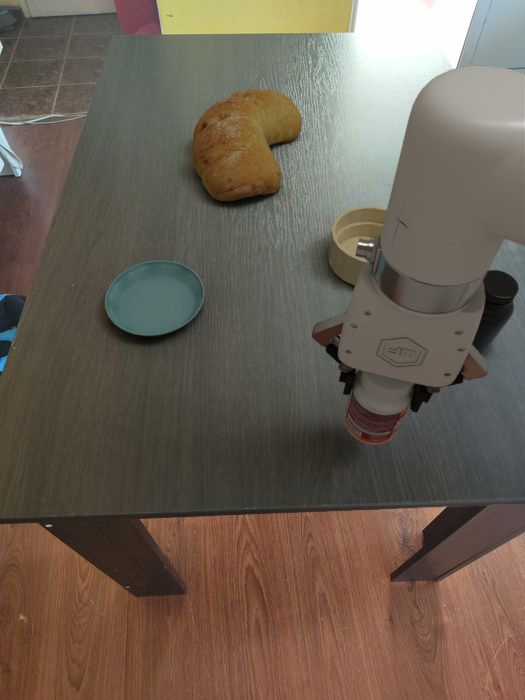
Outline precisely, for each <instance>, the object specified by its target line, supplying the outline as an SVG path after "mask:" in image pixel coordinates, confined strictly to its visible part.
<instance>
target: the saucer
mask: <svg viewBox="0 0 525 700" xmlns="http://www.w3.org/2000/svg"><path fill="white" fill-rule="evenodd" d="M205 289H206V288H205V286H204V283H203V279H202V278H201V277H200V275H199V274H198V273H197V272H196V271H195V270H193V268H191V267H189V266H188V265H186V264H184V263H181V262H178V261H175V260H165V259H158V260H157V259H155V260H149V261H144V262H141V263H138V264H135V265H133V266H130V267H129V268H127V269H125V270H124V271H122V272H121V273H119V275H117V276H116V277H115V278H114V279H113V281H112V282H111V283H110V285H109V287H108V288H107V290H106V293H105V297H104V307H105V311H106V312H105V313H106V315H107V317H108V318H109V319H110V321H111V322H112V323H113V325H115V326H116V327H118V328H119V329H121V330H122V331H124V332H127V333H130V334H132V335H136V336H142V337H158V336H164V335H168V334H171V333H174V332H175V331H178V330H180V329H182V328H183V327H184V326H186V325H187V324H189V323H190V322H191V321H192V320H193V319H195V317H196V315H198V313H199V312H200V310H201V309H202V308H203V307H202V306H203V304H204V301H205V296H206V290H205Z"/></svg>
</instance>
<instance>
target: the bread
mask: <svg viewBox="0 0 525 700" xmlns="http://www.w3.org/2000/svg"><path fill="white" fill-rule="evenodd" d="M302 127H303V123H302V116H301V113H300V109H298V106H297V105H296V103H294V101H293V100H292V99H291V98H290V97H288V96H287V95H286V94H284V93H282V92H279V91H276V90H273V89H259V88H244V89H241V90H238V91H236V92H234V93H232V94H231V95H229V96H228V97H226V98H223V99H221V100H219V101H216V102H215V103H214V104H213V105H211V106H210V107H209V108H208V109H207V110H206V111H205V112H204V113H202V115H201V116H200V117H199V119H198V121H197V123H196V125H195V127H194V130H193V136H192V143H193V144H192V149H191V152H192V153H191V157H192V164H193V168H194V169H195V172H196V173H197V175H198V176H199V178H201V182H202V184H203V186H204V188H205V189H206V191H207V192H208V194H209V195H210V197H211V198H213V199H214V200H216V201H221V202H233V201H237V200H241V199H244V198H249V197H250V198H251V197H256V196H261V195H263V196H264V195H269V194H276V193H277V192H279V190H280V187H281V182H282V172H281V170H280V166H279V163H278V161H277V158H276V157H275V155H274V153H273V151H271V150H272V149H271V148H270V146H272V145H280V144H285V143H289V142H292V141H294V140H296V139H297V138H298V137H299V135H300V134H301V132H302Z"/></svg>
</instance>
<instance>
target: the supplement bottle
mask: <svg viewBox="0 0 525 700" xmlns="http://www.w3.org/2000/svg"><path fill="white" fill-rule="evenodd" d="M517 281H518V280H517V279H515V277H513V276H512V275H511V274H510V273H507V272H505V271H502V270H498V269H489V270H488V272H487V274H486V276H485V278H484V280H483V283H484V292H485V305H484V310H483V314H482V317H481V320H480V324H479V327H478V329H477V332H476V335H475V337H474V340H473V342H472V345H473V346H474V347H475V348H476V349H477V350H478V351H479V353H480V354H481V355H483V354H484V353H485V352H487V350H488V349H489V348H490V346H491V345H492V343H493V342H494V341H495V340H496V338H497V337H498V335H499V334H500V333H501V331H502V330H503V328H504V327H505V326H506V325H507V323H508V321H510V319H511V317H512V316H513V314H514V310H515V303H514V300H515V297H516V296H517V295H518V292H519V290H520V289H519V287H520V286H519V283H518V282H517Z"/></svg>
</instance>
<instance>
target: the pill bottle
mask: <svg viewBox="0 0 525 700" xmlns="http://www.w3.org/2000/svg"><path fill="white" fill-rule="evenodd" d="M413 395H414V383H412V382H408V381H403V380H399V379H395V378H391V377H386V376H382V375H378V374H374V373H370V372H366V371H362V370H358V369H357V370H356V373H355V377H354V381H353V385H352V388H351V392H350V395H349V394H348V398H347V403H346V407H345V409H344V416H343V417H344V424H345V427H346V429H347V431H348V432H349V434H350V435H351V436H352V437H353V438H355V439H356V440H357V441H358V442H362V443H364V444H367V445H373V446H374V445H376V446H377V445H383V444H385V443H387V442H389V441H390V440H392V439H393V437H395V435H396V433H397V432H398V430H399V428H400V426H401V425H402V423H403V421H404V418H405V416H406V414H407V412H408V410H409V409H410V405H411V401H412V399H413Z"/></svg>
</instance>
